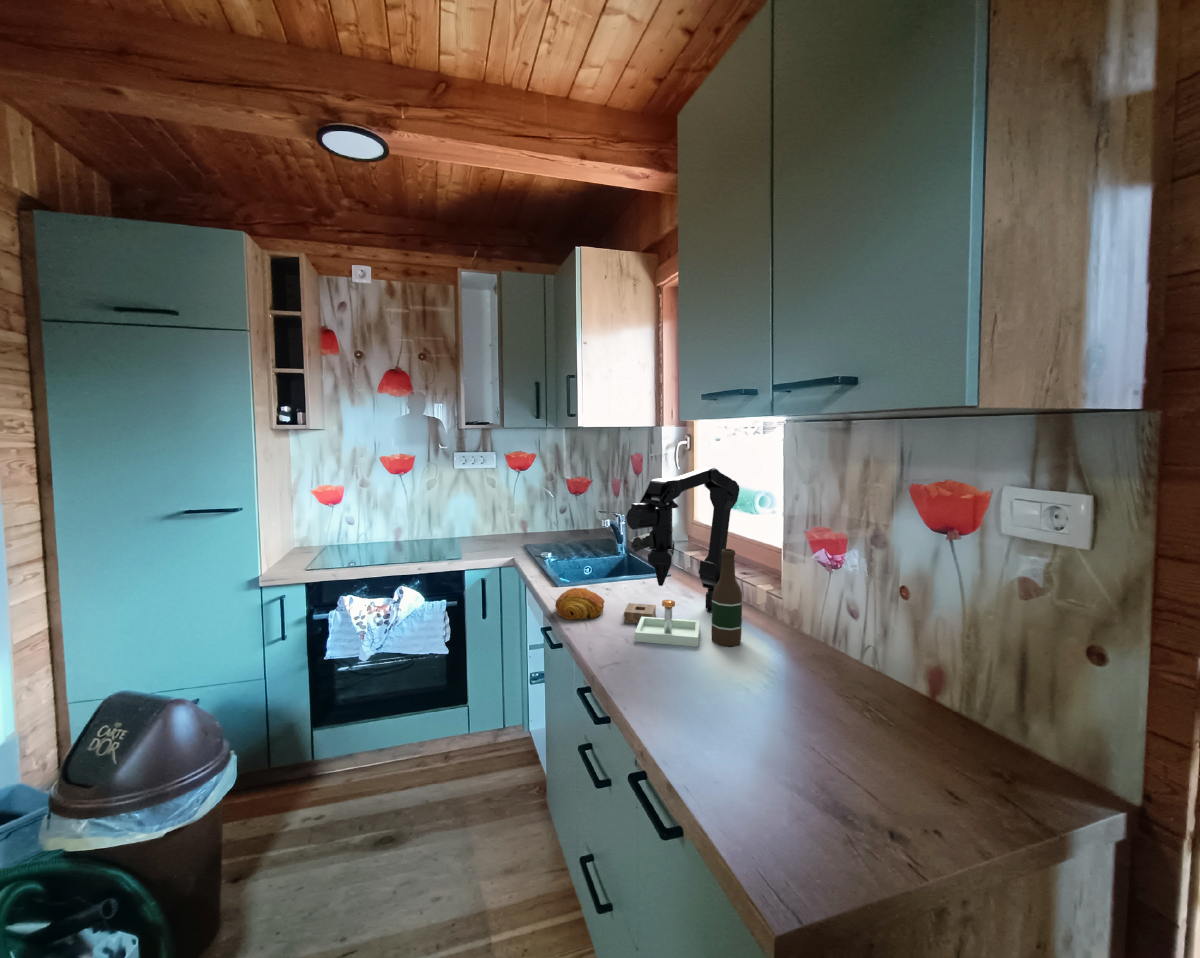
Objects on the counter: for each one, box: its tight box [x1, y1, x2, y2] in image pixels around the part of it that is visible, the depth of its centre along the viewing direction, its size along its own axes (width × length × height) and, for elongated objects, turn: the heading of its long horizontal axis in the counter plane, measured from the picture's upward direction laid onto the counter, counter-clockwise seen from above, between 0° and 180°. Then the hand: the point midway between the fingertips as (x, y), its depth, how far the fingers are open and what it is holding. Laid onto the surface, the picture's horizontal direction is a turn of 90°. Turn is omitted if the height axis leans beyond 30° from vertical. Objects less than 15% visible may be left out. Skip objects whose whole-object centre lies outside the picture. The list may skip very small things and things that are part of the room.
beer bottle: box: [710, 548, 743, 648], centre depth 137 cm, size 8×8×24 cm
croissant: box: [554, 587, 605, 621], centre depth 160 cm, size 14×16×8 cm
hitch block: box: [623, 602, 657, 624], centre depth 155 cm, size 8×8×3 cm
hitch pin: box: [661, 599, 676, 634], centre depth 142 cm, size 3×3×8 cm
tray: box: [634, 617, 701, 648], centre depth 142 cm, size 16×12×2 cm
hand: (661, 580), depth 148 cm, fingers open, 9 cm apart
